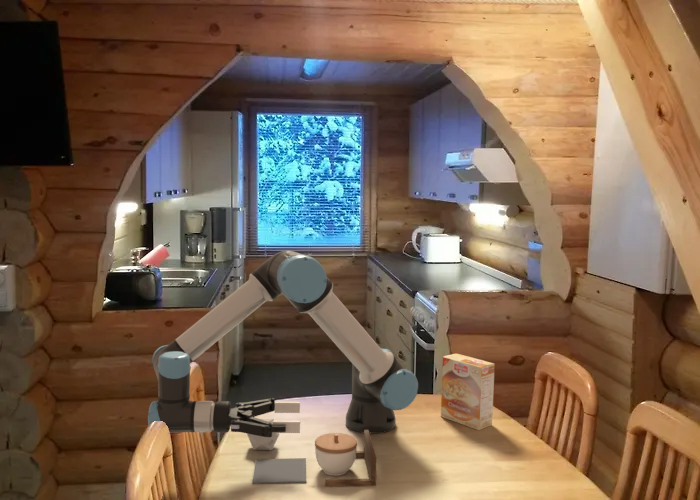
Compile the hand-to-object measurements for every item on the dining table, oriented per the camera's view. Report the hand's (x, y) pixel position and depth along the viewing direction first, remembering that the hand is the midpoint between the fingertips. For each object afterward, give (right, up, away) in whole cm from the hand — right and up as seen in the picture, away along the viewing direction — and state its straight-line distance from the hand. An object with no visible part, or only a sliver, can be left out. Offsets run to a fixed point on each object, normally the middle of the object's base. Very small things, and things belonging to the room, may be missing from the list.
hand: (300, 416), depth 159 cm
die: (-11, -13, +15) cm, 23 cm away
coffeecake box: (+48, -11, +38) cm, 63 cm away
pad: (-5, -14, +1) cm, 15 cm away
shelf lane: (+12, -14, +3) cm, 19 cm away
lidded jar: (+9, -14, +2) cm, 17 cm away
